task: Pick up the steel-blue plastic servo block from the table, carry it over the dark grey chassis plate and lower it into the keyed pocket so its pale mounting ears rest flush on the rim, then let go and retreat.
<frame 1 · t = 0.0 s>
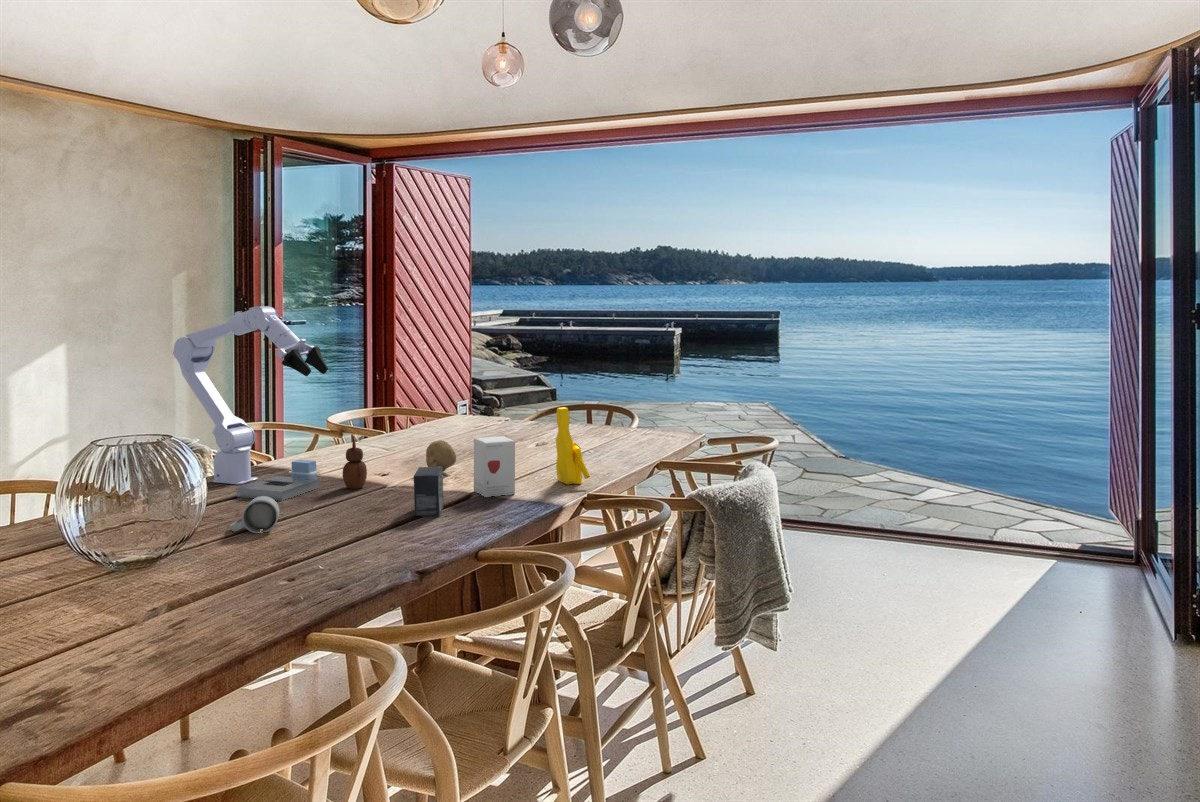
hand: (317, 372, 238), 32 cm above the table, tool tilted 50°, fingers open, 7 cm apart
ceramic mug: (256, 530, 200), on the table
small box: (429, 512, 218), on the table
chassis plate: (278, 492, 237), on the table
servo block: (304, 481, 251), on the table
supplement box: (494, 493, 239), on the table
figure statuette: (569, 483, 252), on the table
natural sponge: (441, 473, 264), on the table
wooden figurine: (355, 488, 243), on the table
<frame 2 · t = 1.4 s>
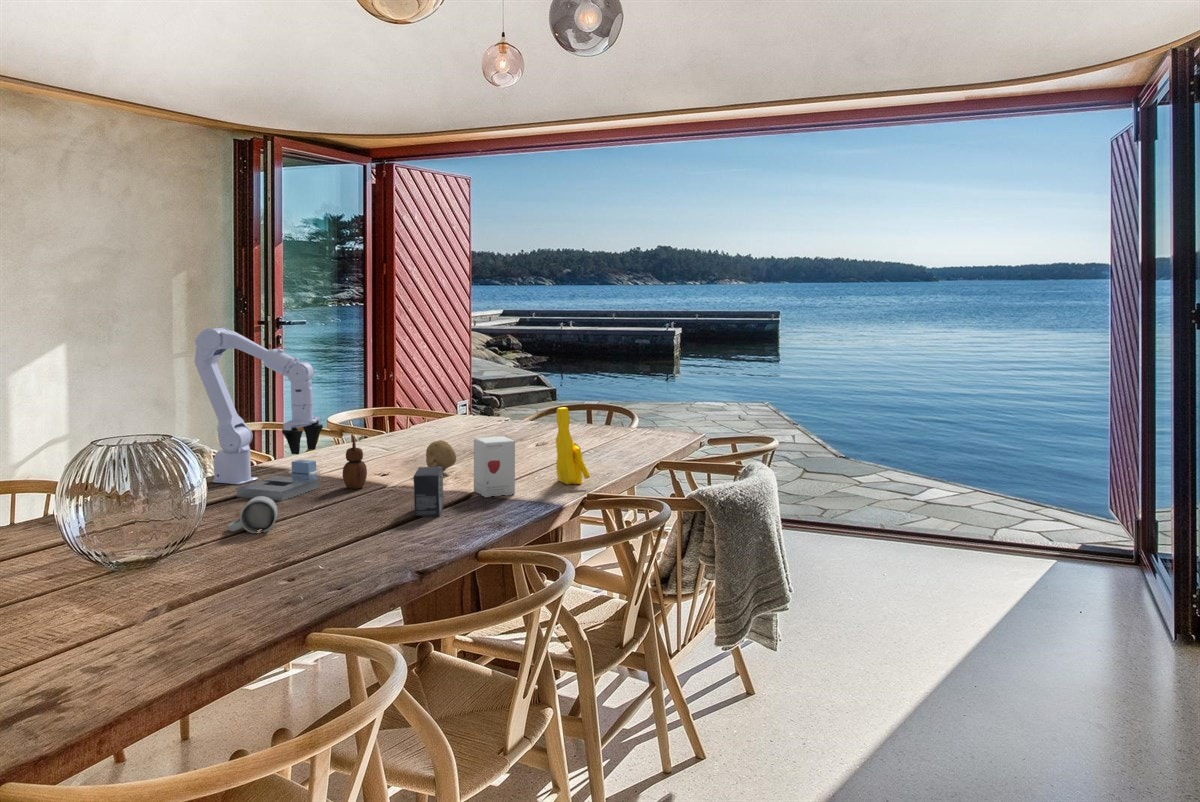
hand: (303, 451, 250), 9 cm above the table, tool pointing down, fingers open, 7 cm apart
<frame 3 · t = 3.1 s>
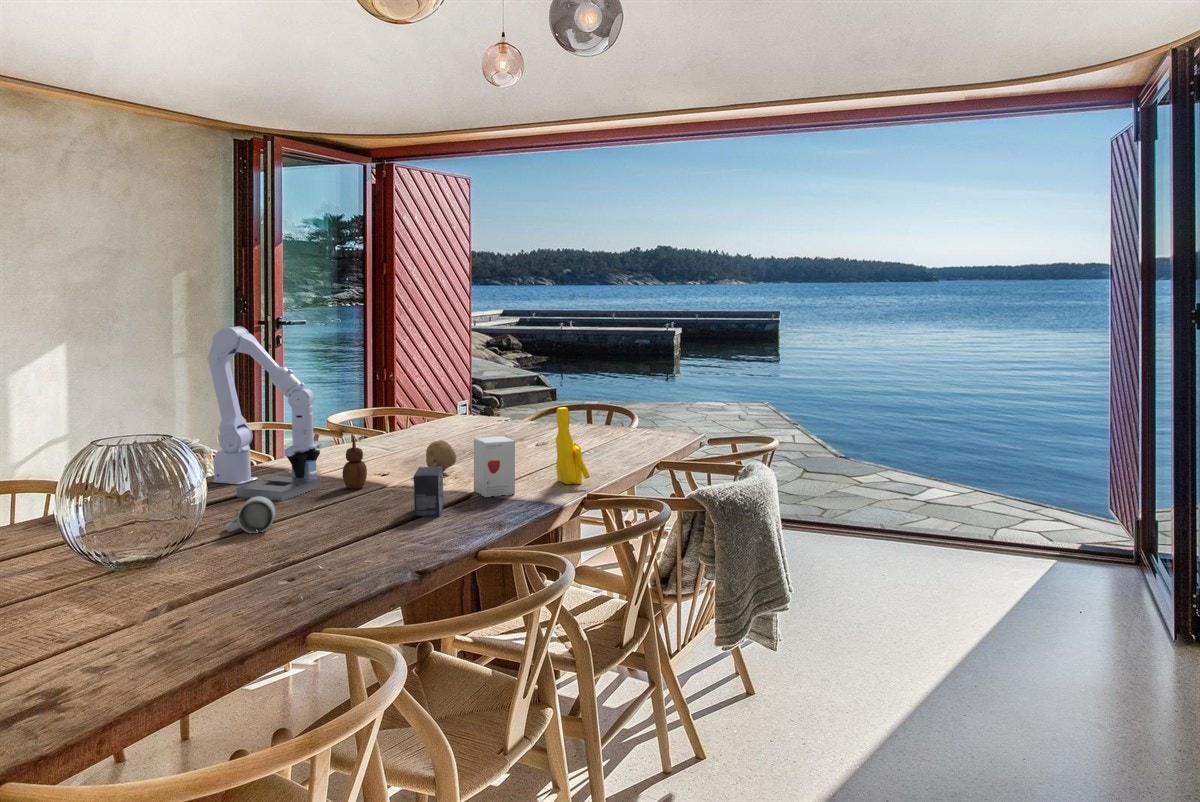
hand: (304, 476, 250), 1 cm above the table, tool pointing down, fingers closed on servo block, 4 cm apart
servo block: (304, 481, 251), on the table, touching gripper
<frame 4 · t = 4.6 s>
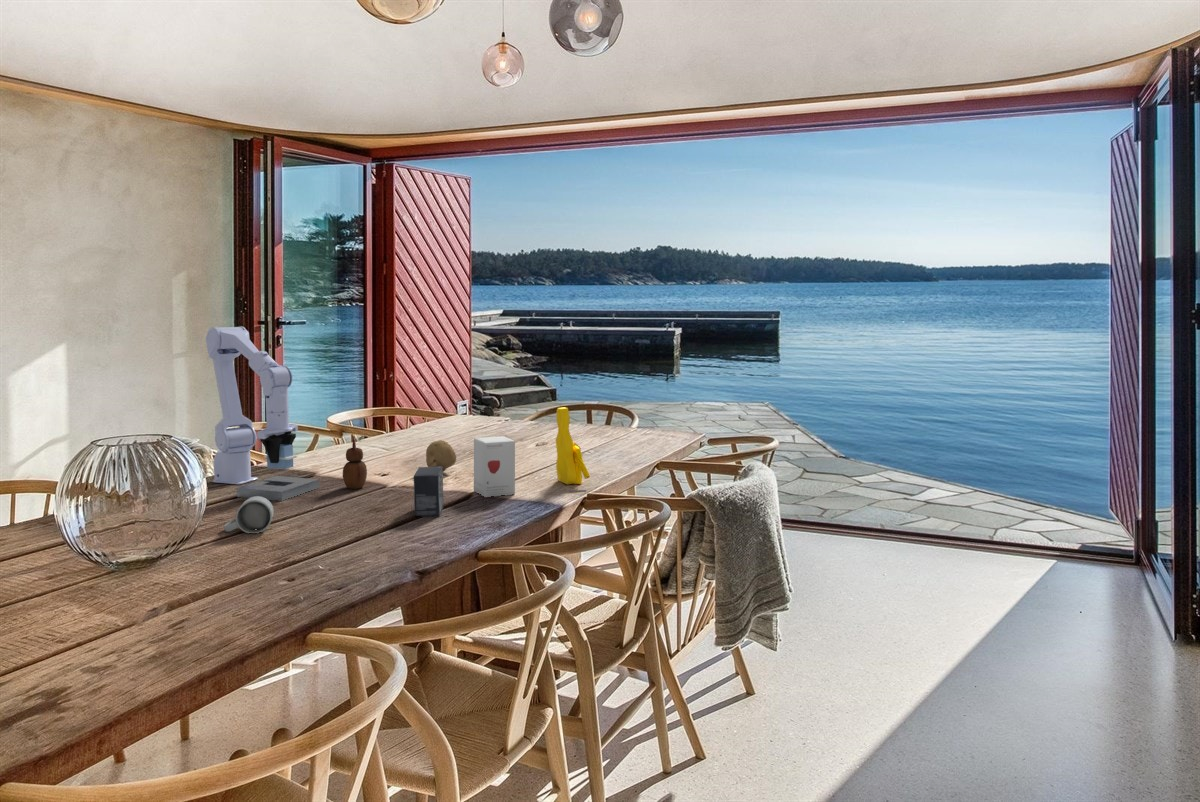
hand: (279, 461, 236), 8 cm above the table, tool pointing down, fingers closed on servo block, 4 cm apart
servo block: (280, 467, 236), point 7 cm above the table, touching gripper
when the fingers open (3 cm above the table, at t = 6.5 s): servo block drops 2 cm, resting in chassis plate.
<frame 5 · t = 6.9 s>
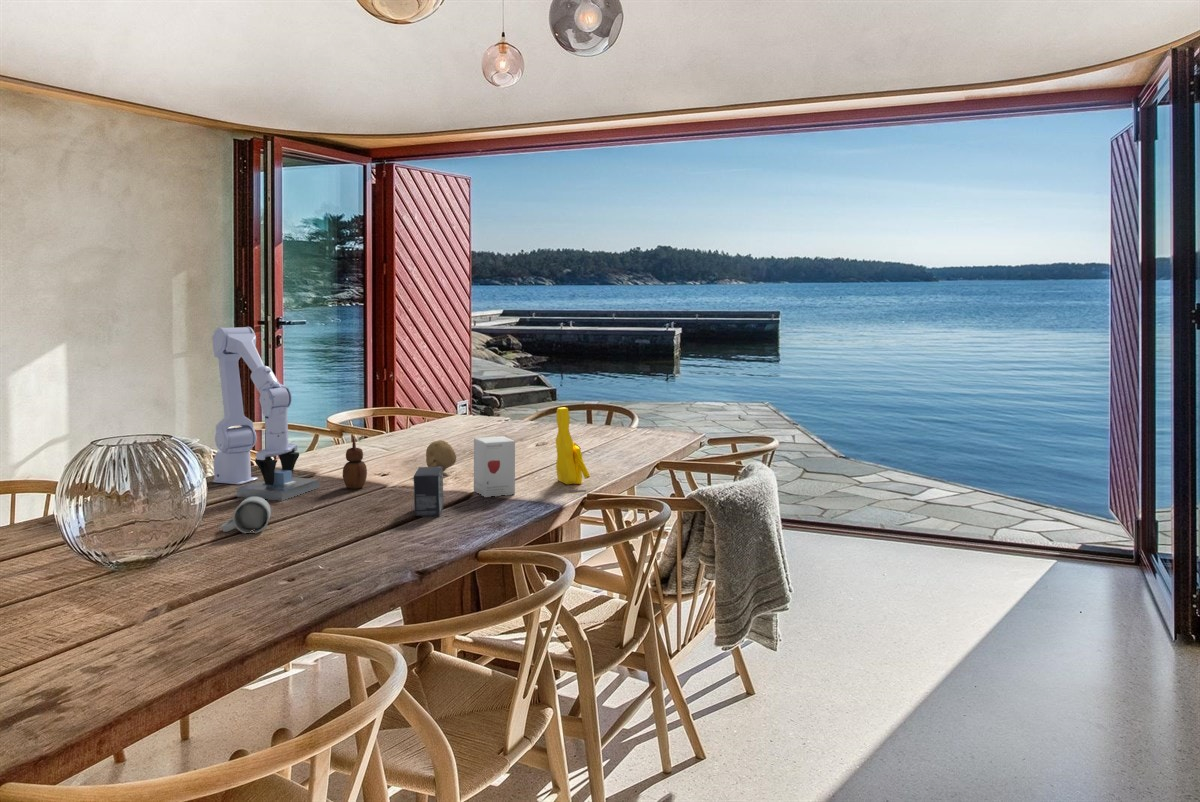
hand: (278, 481, 236), 3 cm above the table, tool pointing down, fingers open, 7 cm apart
servo block: (279, 492, 237), resting in chassis plate
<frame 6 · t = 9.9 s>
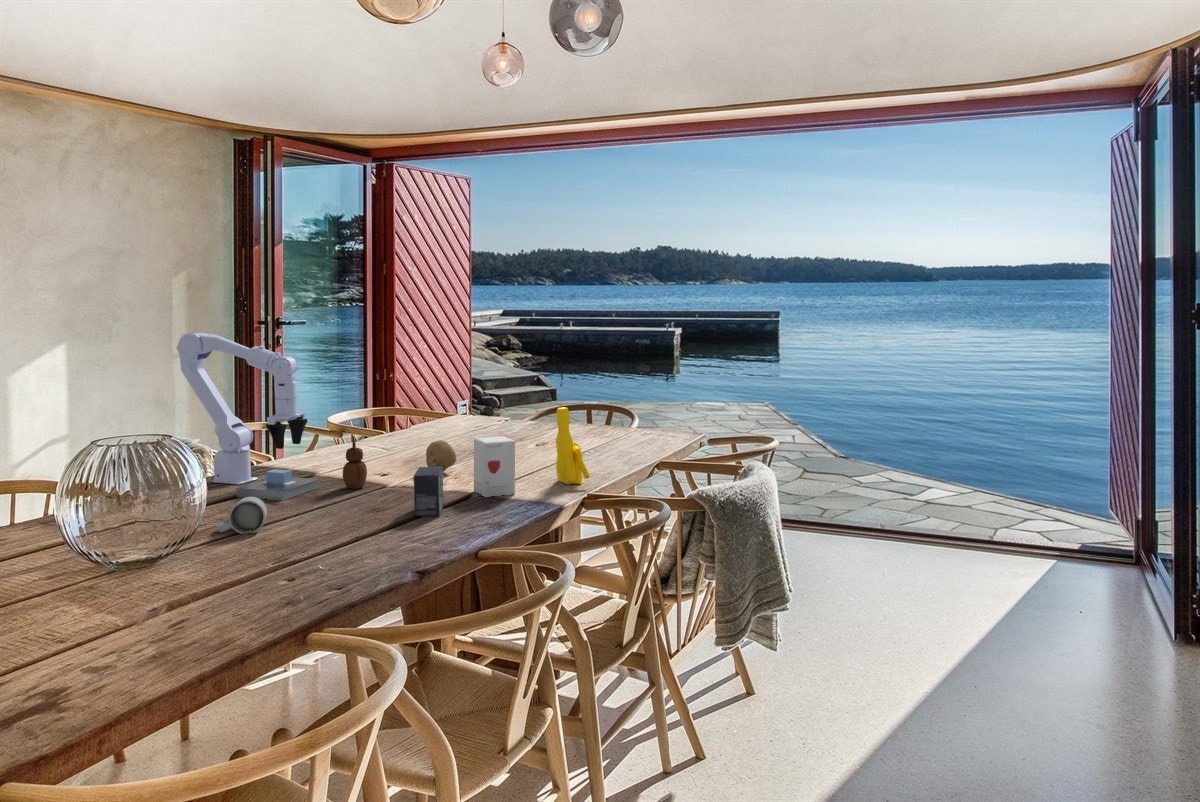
hand: (288, 446, 249), 10 cm above the table, tool pointing down, fingers open, 7 cm apart
at the end: servo block 0.3 cm off-centre on the chassis plate, point 0.0 cm above the chassis plate's base; servo block tilted 0°; the gripper is holding nothing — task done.
